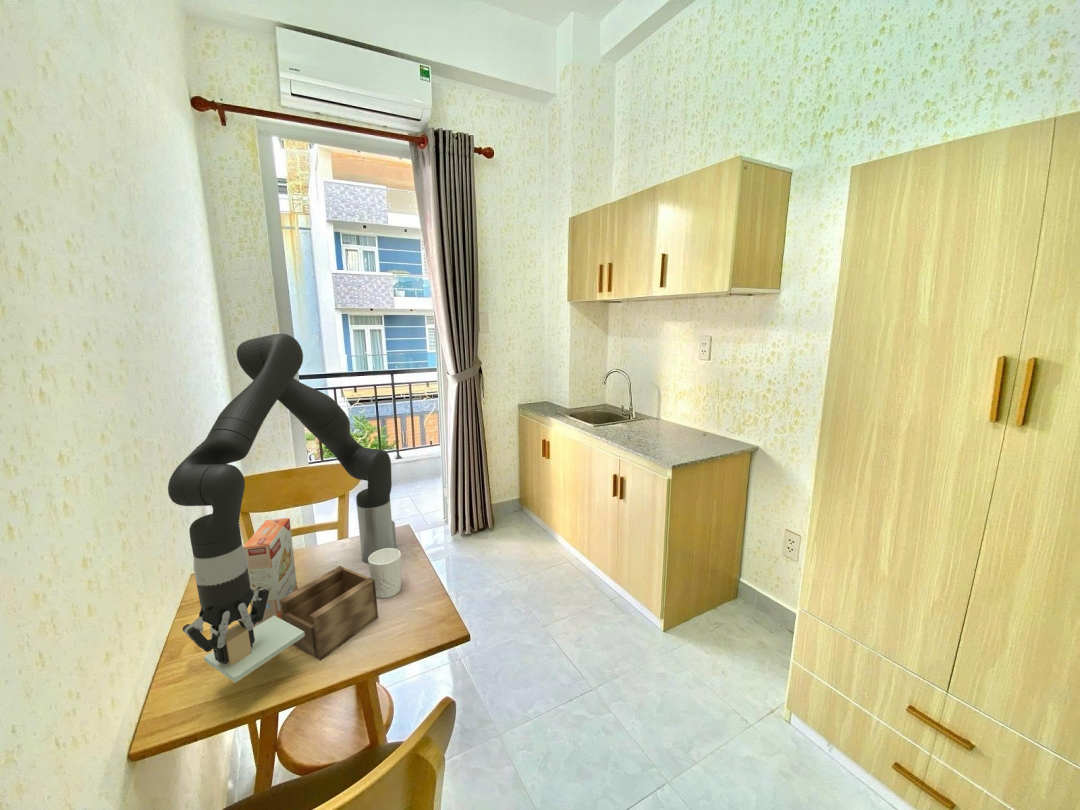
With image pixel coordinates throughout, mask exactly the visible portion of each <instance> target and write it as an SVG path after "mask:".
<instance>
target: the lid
mask: <svg viewBox="0 0 1080 810" xmlns="http://www.w3.org/2000/svg"><path fill="white" fill-rule="evenodd" d="M253 632H254V638H255V641H254V643H253V644H252V645H253V647H252V648H251V645H250V639H249V633H248V629H246V628H244V627H242V626H241V625H240V624H239V623H236V624H235V625H233V626H230V627H228V631H227V634H226V636H225V645H226V647H227V653H228V659H229V662H228V663H226V664H223V663H219V662H218V661H217V660H216V659H215V656H214V650H212V651H210V652H209V653H208V654H206V655H205V656H204V657H203V659H204V662H206V663H207V664H208V665H209V666H211V667H212V668H214V669H215V670H216V671H218V672H219V673H221V674H222V675H223V676H225V677H226V678H228V680H231V681H232V682H233V683H234V684H236V683H237V682H238V681H240V680H242V679H243V678H244V677H246V676H247V675H249V674H251V673H252V672H254V671H256V669H258V668H260V667H261V666H263V665H264V664H266V663H267V662H268V661H270V660H272V659H273V658H274V657H276V656H277V655H279V654H280V653H283V651H285V650H286V649H287V648H289V647H291V646H293V645H292V644H294V643H295V642H297V641H298V640H300V639H301V638H303V637H304V636H305V633H304V631H302V630H300V629H298V628H297V627H295V626H293V625H291V624H289V623H287V622H285V621H284V620H282V619H280V618H278V617H276V616H272V617H271V618H269V619H267V620H266V621H264V622H262V623H261V624H259V625H257V626H255V627H254V628H253Z"/></svg>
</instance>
